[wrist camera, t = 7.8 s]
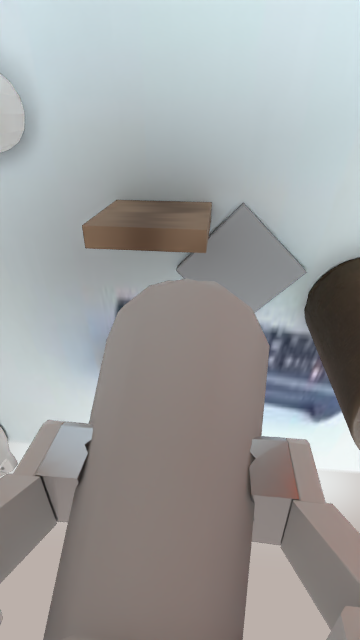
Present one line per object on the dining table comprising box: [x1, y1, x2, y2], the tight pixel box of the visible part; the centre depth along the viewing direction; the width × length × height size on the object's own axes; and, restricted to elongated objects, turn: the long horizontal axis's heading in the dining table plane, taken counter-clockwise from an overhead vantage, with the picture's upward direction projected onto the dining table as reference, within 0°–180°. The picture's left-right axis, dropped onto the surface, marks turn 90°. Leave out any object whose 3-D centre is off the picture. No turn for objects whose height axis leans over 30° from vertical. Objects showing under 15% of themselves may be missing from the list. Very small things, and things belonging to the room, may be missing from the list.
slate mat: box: [176, 203, 307, 313], centre depth 30 cm, size 8×8×1 cm
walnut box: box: [82, 200, 212, 253], centre depth 25 cm, size 8×2×8 cm, turn 90°
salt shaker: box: [43, 278, 269, 640], centre depth 9 cm, size 6×6×13 cm
